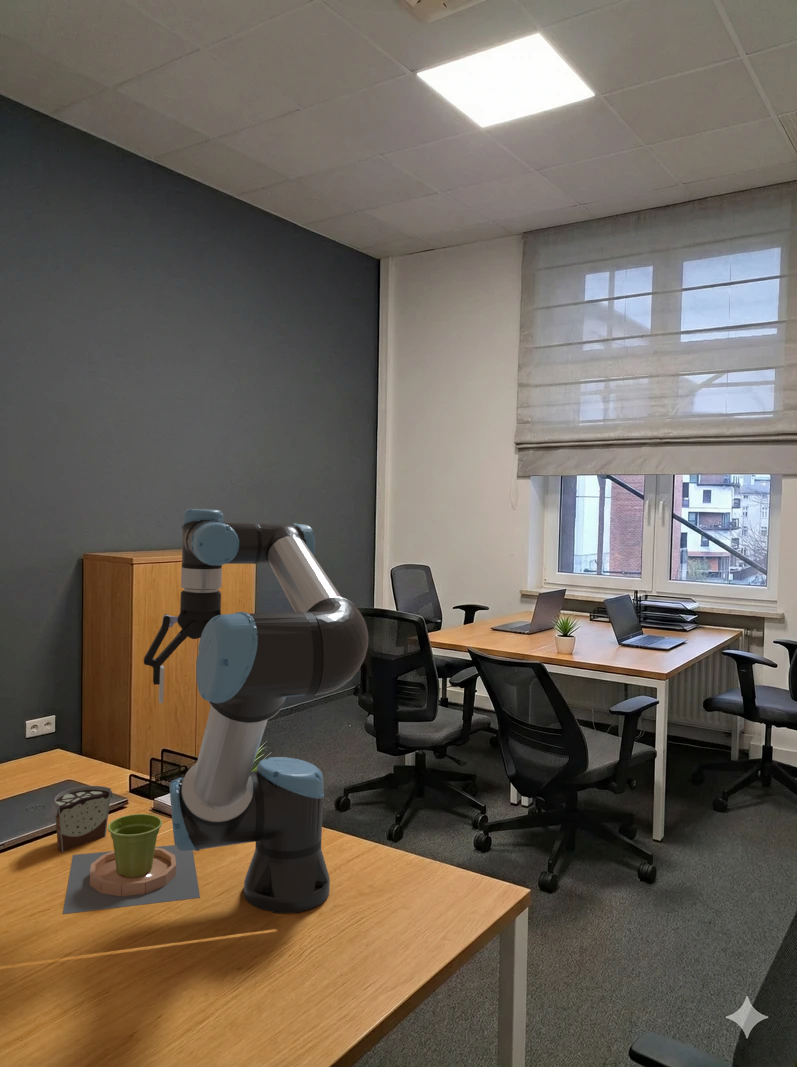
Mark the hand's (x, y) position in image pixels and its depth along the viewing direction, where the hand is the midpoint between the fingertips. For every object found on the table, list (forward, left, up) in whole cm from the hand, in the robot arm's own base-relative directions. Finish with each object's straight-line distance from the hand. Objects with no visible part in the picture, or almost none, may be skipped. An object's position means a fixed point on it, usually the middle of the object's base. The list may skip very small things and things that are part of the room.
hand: (197, 699), depth 151 cm
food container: (+22, -12, -31) cm, 40 cm away
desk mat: (+11, +6, -31) cm, 33 cm away
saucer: (+11, +6, -30) cm, 33 cm away
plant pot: (+11, +6, -30) cm, 32 cm away
